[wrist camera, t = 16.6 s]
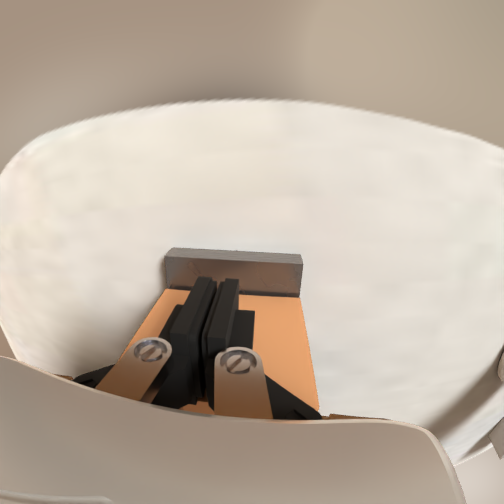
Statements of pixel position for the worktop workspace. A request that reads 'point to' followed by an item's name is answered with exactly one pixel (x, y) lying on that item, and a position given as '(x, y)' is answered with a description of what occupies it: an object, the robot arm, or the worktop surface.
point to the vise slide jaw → (256, 341)
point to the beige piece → (498, 438)
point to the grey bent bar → (236, 270)
